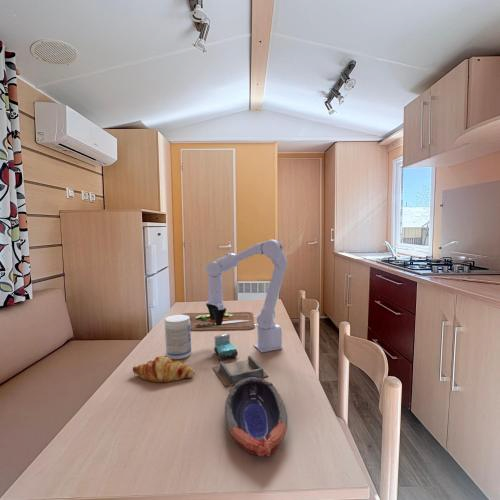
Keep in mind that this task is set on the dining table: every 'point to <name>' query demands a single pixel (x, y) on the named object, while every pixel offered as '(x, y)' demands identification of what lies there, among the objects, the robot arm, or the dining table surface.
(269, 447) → the dish
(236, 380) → the dock bay
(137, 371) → the croissant
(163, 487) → the dining table surface
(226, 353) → the trolley
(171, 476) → the dining table surface
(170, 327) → the supplement tub
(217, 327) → the chopping board
